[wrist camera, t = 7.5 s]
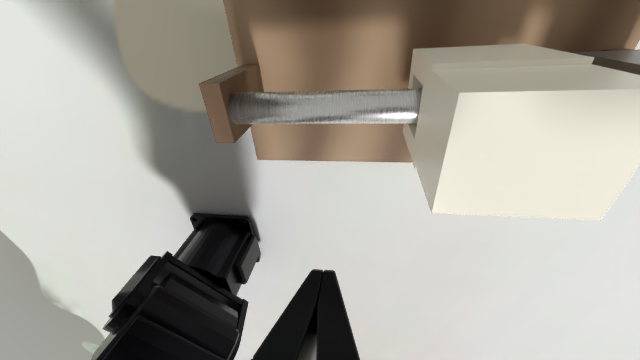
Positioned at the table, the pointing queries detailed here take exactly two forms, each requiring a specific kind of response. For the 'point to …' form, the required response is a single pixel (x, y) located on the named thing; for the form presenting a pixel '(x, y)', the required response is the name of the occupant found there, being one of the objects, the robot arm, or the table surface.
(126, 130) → the table surface
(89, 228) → the table surface
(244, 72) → the rod stand
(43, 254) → the table surface
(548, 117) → the sleeve
